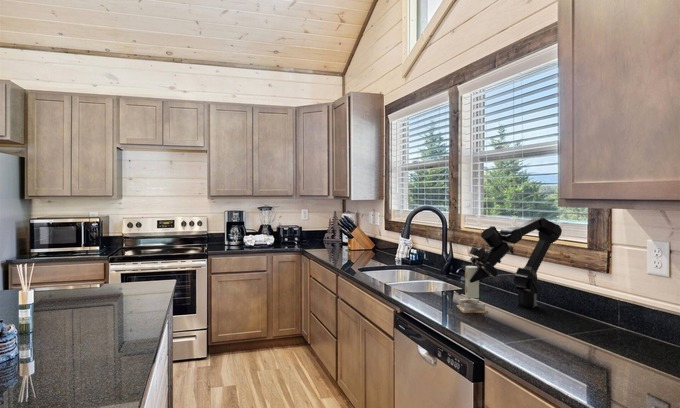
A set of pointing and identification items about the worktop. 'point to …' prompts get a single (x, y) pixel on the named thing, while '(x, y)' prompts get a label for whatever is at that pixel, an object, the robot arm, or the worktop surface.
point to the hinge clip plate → (471, 306)
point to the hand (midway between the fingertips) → (468, 280)
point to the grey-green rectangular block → (473, 287)
